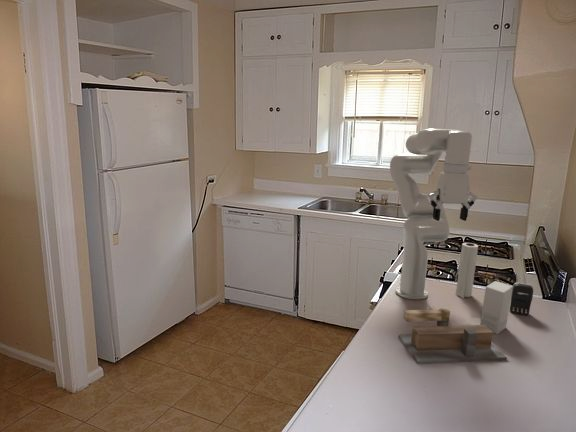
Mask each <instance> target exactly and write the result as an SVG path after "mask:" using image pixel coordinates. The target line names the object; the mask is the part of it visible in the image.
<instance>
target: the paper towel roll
mask: <svg viewBox="0 0 576 432" xmlns="http://www.w3.org/2000/svg"><path fill="white" fill-rule="evenodd" d="M478 248H479V245H478V244H476V243H474V242H473V243H472V242H463V243H462V244H461V252H460V258H459V259H460V260H459V265H458V266H459V267H458V274H457V282H456V283H457V284H456V290H455V294H456V295H457V296H458V297H461V298H462V299H464V298H470V297H472V295H473V288H474V287H473V286H474V280H475V273H476V272H475V271H476V266H477V257H478V251H479V249H478Z"/></svg>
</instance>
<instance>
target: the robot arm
mask: <svg viewBox="0 0 576 432" xmlns="http://www.w3.org/2000/svg"><path fill="white" fill-rule="evenodd" d="M472 138H473V136H472V133H471V132H469V131H463V130H460V129H448V128H445V129H444V128H425V129H421V130H419V131H418V132H417V133H413V134H411V135H410V136H408V137H407V139H406V141H405V147H406V150H407V151H408V152H409V153H398V154H396V155H394V156H392V158H391V160H390V163H389V173H390V177H391V179H392V182H393V184H394V186H395V188H396V191H397V193H398V197H399V202H400V205H401V209H402V212H403V215H404V216H405V217H406V218H407V219H405V220H404V223H403V226H402V229H403V252H402V253H403V254H402V262H401V265H402V266H401V274H400V279H399V281H400V284H399V286H397V287H396V288H395V293H396V295H398V296H399V297H402V298H405V299H408V300H424V299H426V298H428V296H429V293H428V291H427V290H426V289H425V287H426V278H427V277H426V276H427V268H428V258H429V251H428V249H427V248H426V246H425V245H424V243H427V242H428V243H430V242H431V243H436V242H437V243H440V242H445V241H446V240H448V238H449V236H450V225H449V222H448V217H447V213H446V211H445V208H444V204H445V205H447V204H450V205H451V204H453V205H455V204H456V205H457V204H458V205H459V204H460V205H461V206H462V207H461V208H460V214H459V220H462V221H463V222H466V221H467V218H468V216H469V215H468V214H469V213H468V212H469V210H470V209H471V207H472V206H473V205H474V203H475V202H476V200H477V199H478V195H477V194H475V193H473V192H471V191H470V190H471V189H470V187H471V186H470V184H471V182H470V174H469V171H471V170H472V166H470V165H469V163H470V155H471V147H472V140H473V139H472ZM443 152H445V154H444V163H443V171H442V172H440V173H439V176H438V180H437V184H436V188H435V190H434V191H432V192H430V193H428V194H423V193H422V192H421V190H420V187H419V184H418V183H417V182H416V180H415V179H414V178H413V177H411V176H410V175H430V174H431V173H432V172H433V171H434V170H435V168H436V166H437V164H438V162H439V160H440V159H441V156H443V155H442V154H443ZM469 198H470V199H469Z"/></svg>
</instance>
